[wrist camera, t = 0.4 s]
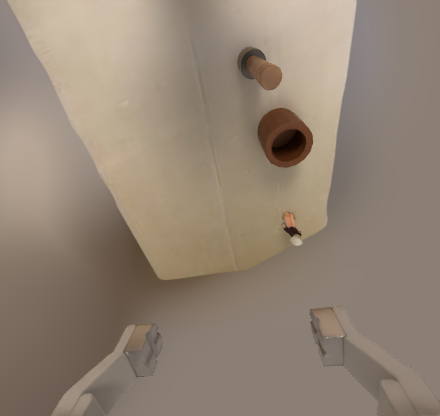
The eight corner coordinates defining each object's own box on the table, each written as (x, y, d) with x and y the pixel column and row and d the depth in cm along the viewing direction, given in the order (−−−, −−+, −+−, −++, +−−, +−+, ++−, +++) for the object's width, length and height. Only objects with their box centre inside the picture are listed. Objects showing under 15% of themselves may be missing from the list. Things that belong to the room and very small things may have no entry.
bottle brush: (245, 42, 45) (265, 46, 26) (264, 55, 47) (297, 68, 28) (233, 67, 48) (245, 87, 29) (252, 78, 49) (275, 105, 30)
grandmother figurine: (300, 214, 74) (313, 243, 64) (294, 223, 76) (306, 251, 66) (279, 208, 72) (290, 237, 62) (274, 217, 74) (283, 246, 64)
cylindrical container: (272, 100, 52) (284, 113, 43) (306, 120, 55) (323, 135, 46) (250, 137, 57) (256, 155, 49) (281, 154, 60) (292, 173, 52)
